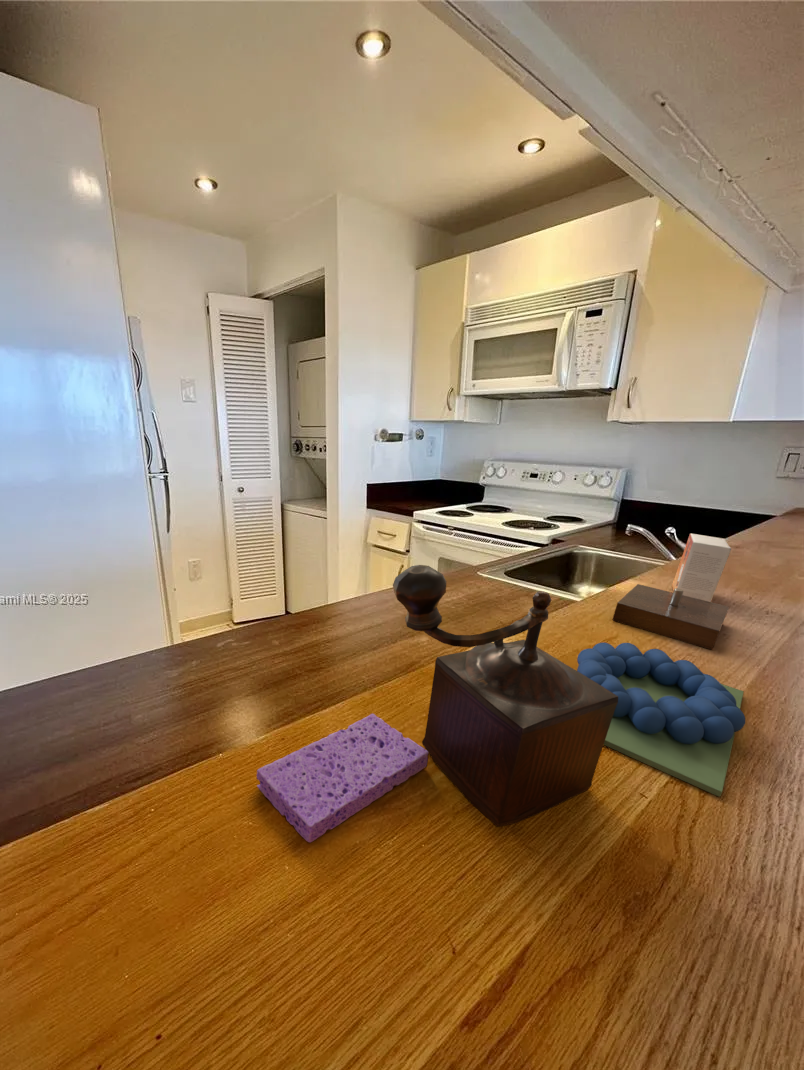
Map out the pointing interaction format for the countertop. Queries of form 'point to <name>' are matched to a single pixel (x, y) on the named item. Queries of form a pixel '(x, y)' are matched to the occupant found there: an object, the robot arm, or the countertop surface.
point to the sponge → (339, 775)
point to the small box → (701, 566)
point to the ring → (685, 721)
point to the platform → (672, 615)
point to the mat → (672, 742)
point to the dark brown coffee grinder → (507, 710)
